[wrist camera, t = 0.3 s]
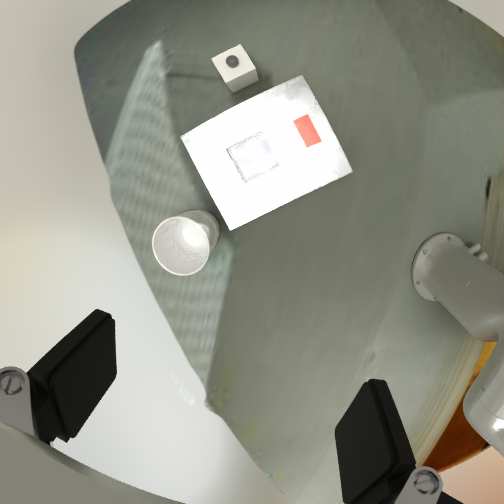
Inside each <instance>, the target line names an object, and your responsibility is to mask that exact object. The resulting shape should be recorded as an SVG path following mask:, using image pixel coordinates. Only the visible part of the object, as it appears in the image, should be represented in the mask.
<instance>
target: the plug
mask: <svg viewBox="0 0 504 504" xmlns="http://www.w3.org/2000/svg"><path fill="white" fill-rule="evenodd" d="M212 61H213V63H214V64H215V66H216V68H217V69H218V71H219V73H220V74H221V76H222V78H223V79H224V81H225V83H226V84H227V86H228V87H229V89H230V90H231V92H232V93H234V92H236V91H238V90H240V89H242V88H244V87H246V86H248V85H250V84H252V83H254V82H256V81H259V79H258V75H257V71H256V68H255V66H254V65H253V63H252V62H251V60H250V58H249V57H248V55H247V54H246V52H245V51H244V49H243V47H242V46H241V44H240V45H238V46H236V47H234V48H232V49H230V50H228V51H226V52H224V53H222V54H220V55H218V56H216V57H214V58H212Z"/></svg>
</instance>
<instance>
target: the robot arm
mask: <svg viewBox="0 0 504 504" xmlns="http://www.w3.org/2000/svg"><path fill="white" fill-rule="evenodd" d="M423 250H424V251H423ZM479 250H481V246H480V244H479V243H476V244H475V245H473V246H472V247H471V248H469V247H466V246H465V244H464V242H463V241H462V240H461V239H460V238H458V237H457V236H455V235H453V234H450V233H439V234H436V235H434V236H432V237H430V238H429V239H428V240H427V241H425V242H424V244H423V245H422V246H421V247H420V249H419V250H418V252H417V254H416V256H415V258H414V261H413V265H412V282H413V285H414V287H415V289H416V291H417V292H418V293H419V294H420V295H421V296H422V297H423V298H425V299H427V300H430V301H439V302H440V303H441V304H442V305H443V306H444V307H445V308H446V309H447V310H448V311H449V312H450V313H451V314H452V315H453V316H454V317H455V318H456V319H457V320H458V321H459V323H460V324H461V325H462V326H463V327H464V328H465V329H466V330H467V331H468V332H469V333H470V334H471V335H472V336H473V337H474V338H476V339H478V340H480V341H484V342H494V341H498V342H497V344H496V346H495V348H494V350H493V351H492V354H491V356H490V358H489V359H488V361H487V362H486V364H485V366H484V367H483V369H482V370H481V372H480V373H479V375H478V376H477V378H476V379H475V381H474V382H473V384H472V385H471V387H470V388H469V390H468V392H467V393H466V396H465V398H464V401H463V411H464V415H465V417H466V419H467V421H468V422H469V424H470V425H471V426H472V427H473V428H474V429H475V430H476V432H477V433H478V434H480V435H481V436H482V437H483V438H484V439H485V440H486V441H487V442H488V443H489V444H490V445H491V446H493V447H494V448H495V449H496V450H497V451H498V452H499V453H500V454H501V455H502V456H503V457H504V274H503V273H501V272H500V271H498V270H497V269H495V268H493V267H492V266H490V265H488V264H487V263H485V262H486V261H487V260H488V256H487V254H486V252H485V251H482V252H481V253H479V254H478V255H477V256H473V254H474V253H476V252H478V251H479ZM116 374H117V366H116V344H115V320H114V319H112V316H111V314H109V313H106V312H104V311H102V310H99V309H96V310H94V311H93V312H92V313H91V314H90V315H89V316H87V317H86V318H85V319H84V320H83V321H82V322H81V323H80V324H78V325H77V326H76V327H75V328H74V329H73V330H72V331H71V332H70V333H69V334H67V335H66V336H65V337H64V338H63V339H61V341H59V342H58V343H57V344H56V345H55V346H54V347H53V348H52V349H51V350H50V351H49V352H48V353H46V354H45V355H44V356H43V357H42V358H41V359H40V360H39V361H38V362H37V363H36V364H35V365H34V366H33V367H32V368H31V369H30V370H29V371H28V372H27V373H25V372H24V371H23V370H22V369H20V368H17V367H5V368H2V369H0V504H185V503H181V502H178V501H174V500H171V499H167V498H164V497H161V496H158V495H155V494H152V493H149V492H146V491H144V490H141V489H138V488H136V487H133V486H131V485H128V484H125V483H123V482H121V481H118V480H116V479H114V478H111V477H109V476H107V475H105V474H102V473H100V472H98V471H96V470H94V469H92V468H90V467H88V466H86V465H84V464H82V463H80V462H78V461H76V460H74V459H72V458H71V457H69V456H67V455H65V454H63V453H61V452H60V451H58V450H56V449H55V448H54V447H53V443H52V441H54V440H55V438H56V437H58V438H59V439H61V440H63V441H64V442H66V443H67V442H68V440H69V439H70V437H71V438H74V437H76V435H77V434H78V432H79V431H80V429H81V428H82V426H83V425H84V423H85V422H86V420H87V419H88V417H89V416H90V414H91V413H92V412H93V410H94V408H95V407H96V406H97V404H98V403H99V401H100V400H101V398H102V397H103V396H104V394H105V393H106V391H107V390H108V388H109V387H110V386H111V384H112V383H113V381H114V380H115V378H116ZM335 440H336V448H337V455H338V463H339V471H340V479H341V488H342V497H343V502H344V503H345V504H463V503H462V502H460V501H458V500H456V499H454V498H453V497H451V496H449V495H448V494H446V493H444V492H443V491H442V486H443V483H442V479H441V477H440V475H439V474H438V473H437V471H435V470H434V469H432V468H429V467H424V466H422V467H418V468H416V466H415V464H416V461H415V458H414V455H413V452H412V449H411V446H410V443H409V440H408V438H407V435H406V432H405V429H404V427H403V424H402V421H401V418H400V416H399V413H398V411H397V408H396V405H395V403H394V400H393V398H392V395H391V393H390V390H389V388H388V385H387V383H386V381H385V380H378V379H370V380H369V381H368V382H365V383H364V384H363V385H362V387H361V389H360V390H359V392H358V393H357V395H356V397H355V398H354V400H353V402H352V403H351V405H350V406H349V408H348V409H347V411H346V412H345V414H344V415H343V417H342V419H341V420H340V421H339V423H338V424H337V426H336V428H335Z"/></svg>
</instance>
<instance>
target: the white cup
mask: <svg viewBox="0 0 504 504" xmlns="http://www.w3.org/2000/svg"><path fill="white" fill-rule="evenodd" d="M219 235H220V229H219V223H218V222H217V220H216V218H215V216H213V215H212V214H210V213H209V212H208V211H205V210H199V209H196V210H193V211H188V212H184V213H181V214H178V215H176V216H173V217H171V218H168V219H166V220H164V221H163V222H162V223H160V224H159V226H158V227H157V228H156V230H155V232H154V235H153V239H152V247H153V252H154V255H155V257H156V259H157V261H158V262H159V264H160V265H161V266H162V267H163V268H164V269H166V270H167V271H169V272H171V273H173V274H176V275H182V276H185V275H191V274H194V273H196V272H198V271H199V270H200V269H201V268H202V267H203V266H204V265H205V263H206V262H207V260H208V258H209V256H210V255H211V253H212V251H213V250H214V247H215V245H216V243H217V240H218V238H219Z"/></svg>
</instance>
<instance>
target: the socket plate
mask: <svg viewBox="0 0 504 504" xmlns="http://www.w3.org/2000/svg"><path fill="white" fill-rule="evenodd" d="M181 139H182V141H183V142H184V144H185V146H186V148H187V150H188V152H189V154H190V156H191V158H192V160H193V161H194V163H195V165H196V167H197V169H198V171H199V173H200V175H201V177H202V179H203V180H204V182H205V184H206V186H207V188H208V190H209V192H210V194H211V195H212V197H213V199H214V201H215V203H216V205H217V207H218V209H219V210H220V212H221V214H222V216H223V218H224V220H225V222H226V224H227V225H228V227H229V229H230V230H232V229H234V228H236V227H238V226H240V225H242V224H244V223H246V222H248V221H250V220H252V219H254V218H257V217H259V216H261V215H263V214H265V213H267V212H269V211H271V210H273V209H275V208H277V207H279V206H281V205H283V204H285V203H287V202H290V201H292V200H294V199H296V198H298V197H300V196H302V195H304V194H306V193H308V192H311V191H313V190H315V189H317V188H319V187H321V186H323V185H325V184H328V183H330V182H332V181H334V180H336V179H338V178H341V177H343V176H345V175H347V174H349V173H351V172H353V171H352V169H351V167H350V165H349V163H348V161H347V158H346V156H345V154H344V152H343V150H342V148H341V146H340V144H339V142H338V140H337V138H336V136H335V134H334V132H333V130H332V128H331V126H330V124H329V122H328V120H327V118H326V117H325V115H324V113H323V111H322V109H321V107H320V106H319V104H318V102H317V100H316V98H315V97H314V95H313V93H312V91H311V90H310V88H309V86H308V85H307V83H306V81H305V79H304V78H303V76H302V75H301V76H299V77H297V78H294V79H292V80H290V81H287V82H285V83H283V84H280V85H278V86H276V87H274V88H271V89H269V90H267V91H265V92H263V93H261V94H259V95H257V96H255V97H252V98H250V99H248V100H246V101H244V102H242V103H240V104H238V105H237V106H235V107H233V108H231V109H229V110H227V111H225V112H223V113H221V114H220V115H218V116H216V117H214V118H212V119H210V120H209V121H207V122H205V123H203V124H202V125H200V126H198V127H196V128H195V129H193V130H191V131H190V132H188V133H186V134H185V135H183V136H181Z"/></svg>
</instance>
